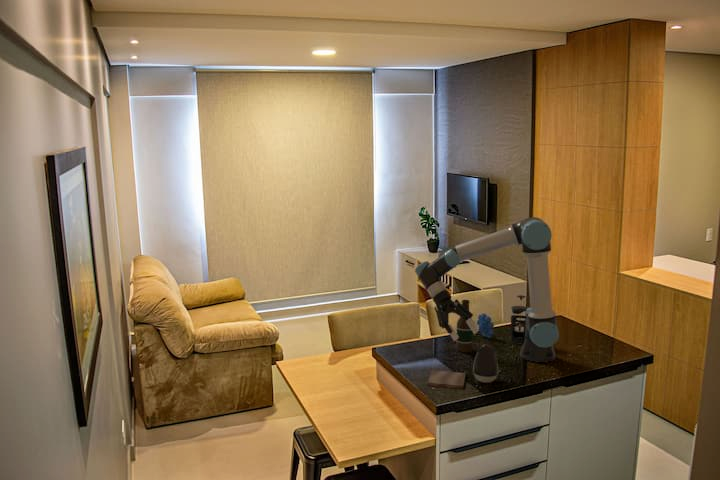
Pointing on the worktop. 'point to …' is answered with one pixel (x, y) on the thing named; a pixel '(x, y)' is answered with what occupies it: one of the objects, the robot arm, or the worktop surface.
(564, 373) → the worktop surface
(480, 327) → the grapes
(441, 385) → the walnut board
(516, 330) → the french press
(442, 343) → the worktop surface
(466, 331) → the beer bottle
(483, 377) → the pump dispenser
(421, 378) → the worktop surface
